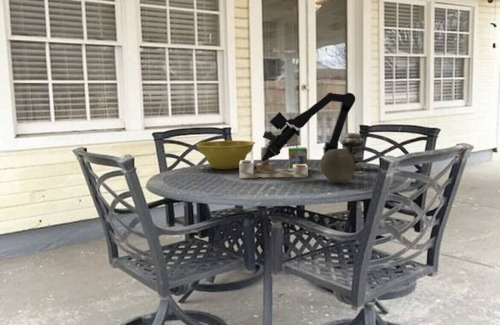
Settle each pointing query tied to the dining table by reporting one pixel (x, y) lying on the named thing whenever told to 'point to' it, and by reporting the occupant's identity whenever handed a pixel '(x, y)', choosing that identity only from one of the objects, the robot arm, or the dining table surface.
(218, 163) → the planter bowl
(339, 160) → the cantaloupe
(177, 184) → the dining table surface
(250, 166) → the rail track
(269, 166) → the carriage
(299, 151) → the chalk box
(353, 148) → the apothecary jar
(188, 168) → the dining table surface
